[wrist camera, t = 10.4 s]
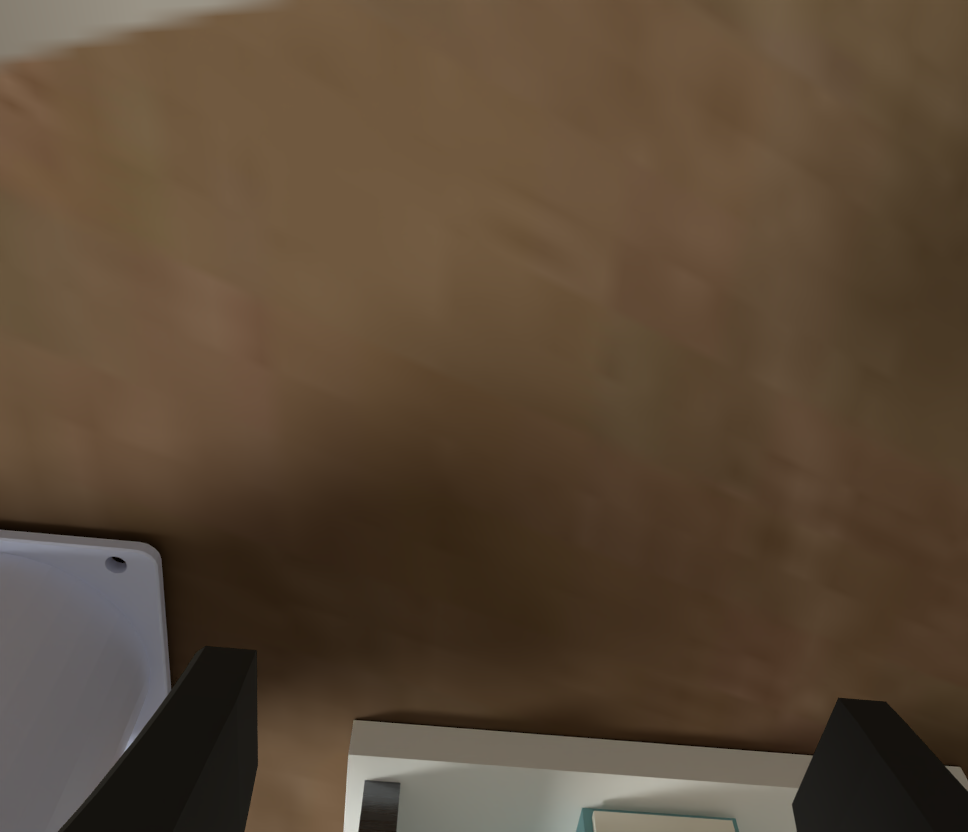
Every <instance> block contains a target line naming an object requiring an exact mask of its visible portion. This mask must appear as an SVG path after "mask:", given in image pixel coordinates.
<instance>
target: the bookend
mask: <svg viewBox="0 0 968 832" xmlns="http://www.w3.org/2000/svg"><path fill="white" fill-rule="evenodd" d="M399 795H400V783H399V782H386V781H372V780H365V783H364V791H363V798H362V806H361V814H360V822H359V830H358V832H396V830H397V818H398V806H399Z"/></svg>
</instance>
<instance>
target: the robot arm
mask: <svg viewBox="0 0 968 832" xmlns="http://www.w3.org/2000/svg"><path fill="white" fill-rule="evenodd" d="M112 557H119V558H121V559H123V560H124V561H125V562H126V563H120V562H117V561H115V560H114V559H113V558H112ZM257 766H258V739H257V650H247V649H235V648H223V647H210V646H205V647H204V648H202V649H201V650H199V651H198V652H196V654H195V655H194V657H193V658H192V660H191V661H190V663H189V664H188V666H187V668H186V669H185V671H184V672H183V674H182V675H181V676H180V678H179V679H178V681H177V682H176V684H175V685H174V687H173V688H172V690H171V679H170V665H169V652H168V639H167V625H166V612H165V599H164V585H163V572H162V559H161V556H160V553H159V552H158V551H157V550H156V549H155V548H154V547H152V546H151V545H149V544H146V543H142V542H135V541H123V540H112V539H101V538H89V537H78V536H67V535H55V534H44V533H33V532H21V531H10V530H0V832H244V831H245V826H246V821H247V816H248V812H249V806H250V801H251V796H252V791H253V786H254V781H255V776H256V771H257ZM792 809H793V814H794V819H795V824H796V829H797V832H968V791H967V790H966V789H965V788H964V787H963V785H962V784H961V783H960V782H959V781H958V780H957V779H956V778H955V777H954V776H953V774H952V773H951V772H950V771H949V770H948V769H947V768H946V767H945V766H944V764H943V763H942V762H941V761H940V760H939V759H938V758H937V757H936V756H935V754H934V753H933V752H932V751H931V750H930V749H929V748H928V747H927V746H926V745H925V743H924V742H923V741H922V740H921V739H920V738H919V737H918V736H917V735H916V734H915V732H914V731H913V730H912V729H911V728H910V727H909V726H908V725H907V724H906V723H905V722H904V720H903V719H902V718H901V717H900V716H899V715H898V714H897V713H896V712H895V711H894V710H893V709H892V708H891V707H890V706H889V705H888V704H887V702H883V701H871V700H859V699H846V698H838V700H837V702H836V705H835V707H834V709H833V711H832V714H831V716H830V718H829V721H828V723H827V725H826V727H825V730H824V732H823V734H822V736H821V739H820V741H819V743H818V746H817V748H816V750H815V752H814V755H813V757H812V759H811V762H810V764H809V766H808V768H807V771H806V773H805V775H804V777H803V780H802V782H801V784H800V787H799V789H798V791H797V793H796V796H795V798H794V800H793V803H792Z"/></svg>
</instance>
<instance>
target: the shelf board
mask: <svg viewBox="0 0 968 832" xmlns="http://www.w3.org/2000/svg"><path fill="white" fill-rule="evenodd" d="M812 757H813V756H812V755H800V754H787V753H774V752H761V751H748V750H735V749H722V748H709V747H696V746H683V745H671V744H658V743H645V742H632V741H619V740H606V739H593V738H580V737H567V736H555V735H542V734H529V733H516V732H503V731H490V730H477V729H464V728H451V727H438V726H426V725H413V724H400V723H387V722H374V721H361V720H354V721H353V727H352V734H351V741H350V747H349V754H348V769H347V785H346V801H345V816H344V832H358V830H359V822H360V814H361V806H362V798H363V791H364V783H365V780H372V781H386V782H399V783H400V795H399V806H398V818H397V830H396V832H576V829H577V826H578V822H579V818H580V814H581V810H582V808H594V809H608V810H622V811H636V812H650V813H665V814H679V815H693V816H707V817H721V818H735V819H736V822H737V826H738V829H739V832H797V829H796V824H795V819H794V814H793V809H792V803H793V800H794V798H795V796H796V793H797V791H798V789H799V787H800V784H801V782H802V780H803V777H804V775H805V773H806V771H807V768H808V766H809V764H810V762H811V759H812ZM945 767H946V768H947V769H948V770H949V771H950V772H951V773H952V774H953V776H954V777H955V778H956V779H957V780H958V781H959V782H960V783H961V784H962V785H963V787H964V788H965V789H966V790H967V791H968V780H967V778H966V776H965V774H964V772H963V771H962V769H961V767H954V766H945Z"/></svg>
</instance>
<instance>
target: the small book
mask: <svg viewBox="0 0 968 832" xmlns="http://www.w3.org/2000/svg"><path fill="white" fill-rule="evenodd" d="M576 832H739V829H738V826H737V822H736V819H735V818H721V817H707V816H693V815H679V814H665V813H650V812H636V811H622V810H608V809H594V808H582V810H581V814H580V818H579V822H578V826H577V829H576Z"/></svg>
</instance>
